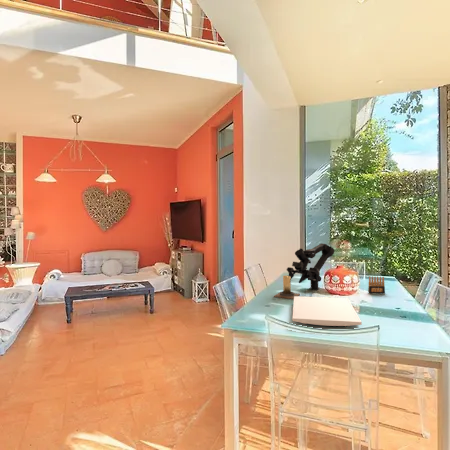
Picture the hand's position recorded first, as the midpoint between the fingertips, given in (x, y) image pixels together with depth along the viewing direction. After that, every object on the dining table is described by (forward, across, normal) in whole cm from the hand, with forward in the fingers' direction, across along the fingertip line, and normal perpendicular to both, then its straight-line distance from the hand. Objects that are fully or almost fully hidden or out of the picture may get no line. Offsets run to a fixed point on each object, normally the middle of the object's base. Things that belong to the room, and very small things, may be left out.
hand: (293, 281), depth 228 cm
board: (+25, +41, -12) cm, 50 cm away
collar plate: (+12, 0, +1) cm, 12 cm away
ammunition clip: (-24, +38, +37) cm, 58 cm away
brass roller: (+11, 0, 0) cm, 11 cm away
